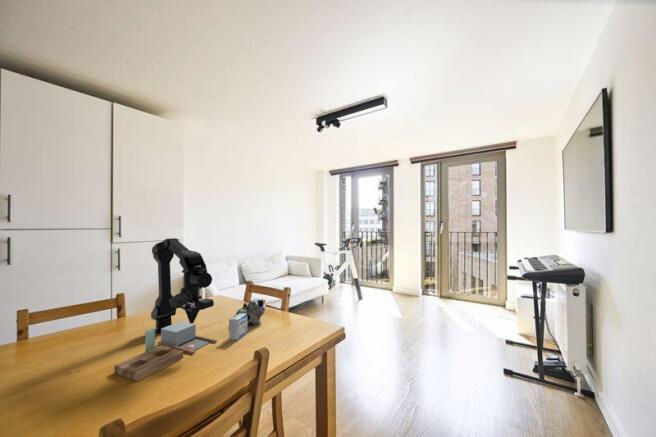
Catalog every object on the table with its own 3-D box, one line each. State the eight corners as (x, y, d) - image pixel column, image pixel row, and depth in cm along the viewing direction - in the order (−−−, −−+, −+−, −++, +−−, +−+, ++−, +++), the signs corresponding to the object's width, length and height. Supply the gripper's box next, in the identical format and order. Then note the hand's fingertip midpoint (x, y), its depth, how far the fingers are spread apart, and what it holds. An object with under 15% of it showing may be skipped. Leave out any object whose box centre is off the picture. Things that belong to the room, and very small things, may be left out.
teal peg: (143, 355, 102) (143, 331, 102) (151, 351, 105) (151, 328, 105) (148, 356, 101) (148, 332, 101) (156, 353, 103) (156, 329, 103)
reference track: (157, 344, 110) (157, 342, 110) (182, 334, 121) (182, 331, 121) (193, 354, 102) (193, 351, 102) (216, 342, 113) (216, 339, 113)
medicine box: (238, 340, 114) (238, 319, 114) (228, 339, 115) (228, 319, 115) (247, 333, 122) (247, 313, 122) (238, 332, 123) (238, 312, 123)
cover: (161, 342, 111) (161, 328, 112) (180, 333, 120) (180, 321, 120) (176, 346, 108) (176, 332, 108) (195, 337, 116) (195, 324, 116)
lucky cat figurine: (240, 316, 142) (253, 291, 146) (260, 327, 140) (273, 302, 143) (228, 318, 128) (243, 290, 131) (250, 330, 126) (264, 301, 129)
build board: (114, 372, 90) (114, 365, 90) (161, 351, 105) (161, 345, 105) (137, 381, 85) (137, 373, 85) (183, 358, 100) (183, 351, 100)
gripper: (157, 286, 107) (157, 326, 107) (190, 291, 100) (190, 334, 99) (182, 281, 117) (182, 317, 117) (214, 284, 110) (214, 323, 109)
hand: (191, 323), depth 111 cm, fingers closed
